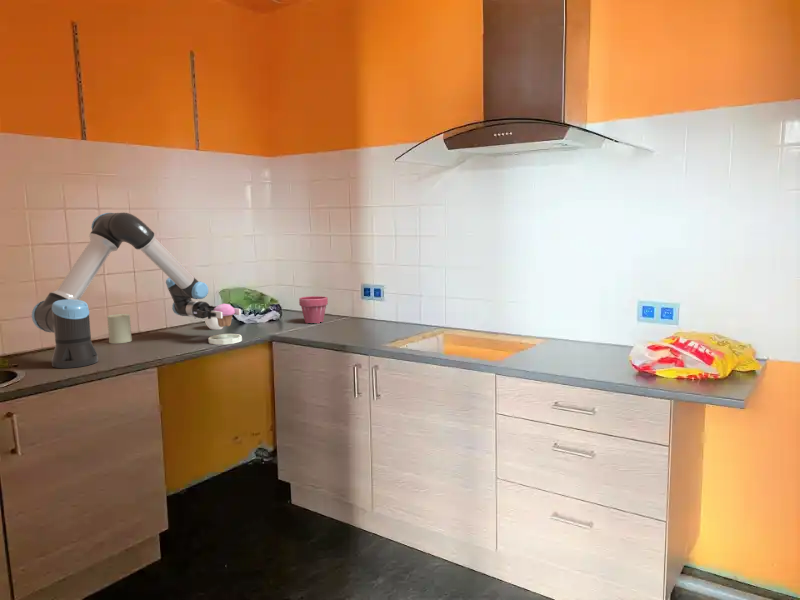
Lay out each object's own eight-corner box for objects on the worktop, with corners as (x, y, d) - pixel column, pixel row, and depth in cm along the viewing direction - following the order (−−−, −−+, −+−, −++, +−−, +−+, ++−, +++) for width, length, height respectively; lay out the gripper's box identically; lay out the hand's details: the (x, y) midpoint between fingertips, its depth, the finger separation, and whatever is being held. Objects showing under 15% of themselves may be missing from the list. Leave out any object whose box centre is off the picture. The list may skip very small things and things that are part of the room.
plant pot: (318, 319, 316) (318, 295, 314) (333, 322, 305) (332, 297, 303) (295, 322, 307) (294, 297, 305) (309, 325, 296) (308, 300, 294)
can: (123, 343, 258) (121, 316, 257) (104, 343, 260) (102, 316, 259) (136, 339, 267) (134, 313, 266) (118, 339, 269) (116, 312, 268)
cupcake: (233, 324, 265) (232, 301, 264) (237, 327, 258) (235, 304, 256) (212, 325, 262) (211, 303, 260) (215, 329, 254) (214, 305, 253)
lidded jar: (217, 331, 285) (216, 311, 284) (200, 329, 290) (198, 310, 289) (232, 327, 295) (231, 308, 294) (215, 326, 299) (214, 307, 298)
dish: (222, 345, 251) (222, 341, 251) (202, 342, 259) (202, 337, 259) (248, 340, 262) (247, 335, 262) (228, 337, 270) (227, 332, 270)
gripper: (219, 314, 279) (251, 318, 265) (177, 321, 261) (210, 326, 248) (218, 298, 278) (250, 301, 264) (176, 304, 260) (209, 308, 247)
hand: (231, 313), depth 256 cm, fingers closed on cupcake, 9 cm apart
